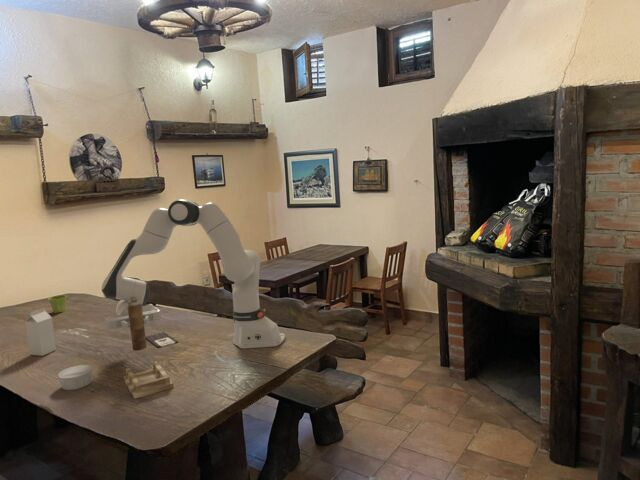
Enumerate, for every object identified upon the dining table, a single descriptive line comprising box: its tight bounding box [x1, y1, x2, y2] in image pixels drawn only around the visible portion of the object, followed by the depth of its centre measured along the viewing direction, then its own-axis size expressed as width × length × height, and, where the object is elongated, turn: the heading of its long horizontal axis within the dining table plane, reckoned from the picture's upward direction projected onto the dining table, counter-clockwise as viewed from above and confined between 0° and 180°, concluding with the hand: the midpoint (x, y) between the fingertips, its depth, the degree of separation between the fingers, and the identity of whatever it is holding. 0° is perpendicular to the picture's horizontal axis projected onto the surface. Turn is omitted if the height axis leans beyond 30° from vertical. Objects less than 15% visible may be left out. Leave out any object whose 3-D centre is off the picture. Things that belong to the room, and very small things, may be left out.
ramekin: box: [57, 364, 93, 391], centre depth 168 cm, size 11×11×5 cm
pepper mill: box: [128, 296, 147, 351], centre depth 179 cm, size 5×5×20 cm
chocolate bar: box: [145, 331, 179, 349], centre depth 211 cm, size 9×1×18 cm
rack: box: [123, 361, 175, 399], centre depth 165 cm, size 18×13×4 cm
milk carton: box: [24, 307, 57, 357], centre depth 203 cm, size 7×7×19 cm
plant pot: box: [47, 294, 68, 314], centre depth 271 cm, size 9×9×9 cm
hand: (137, 323), depth 178 cm, fingers closed on pepper mill, 5 cm apart
